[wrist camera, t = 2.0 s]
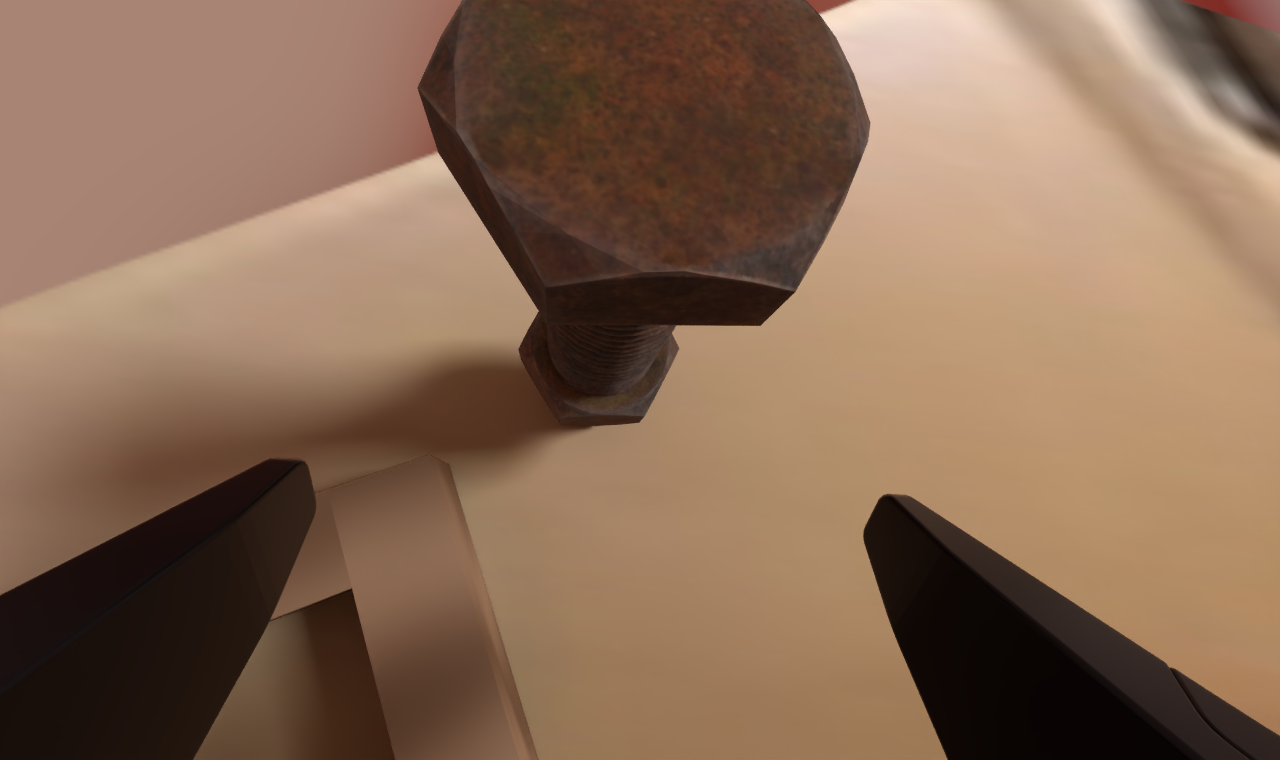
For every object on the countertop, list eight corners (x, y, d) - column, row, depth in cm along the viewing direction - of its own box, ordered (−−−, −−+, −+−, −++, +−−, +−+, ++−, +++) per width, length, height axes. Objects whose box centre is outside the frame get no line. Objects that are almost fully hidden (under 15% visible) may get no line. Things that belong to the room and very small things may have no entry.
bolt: (516, 453, 19) (388, 267, 5) (517, 329, 20) (419, -110, 6) (665, 448, 20) (930, 279, 6) (657, 330, 21) (857, -49, 7)
